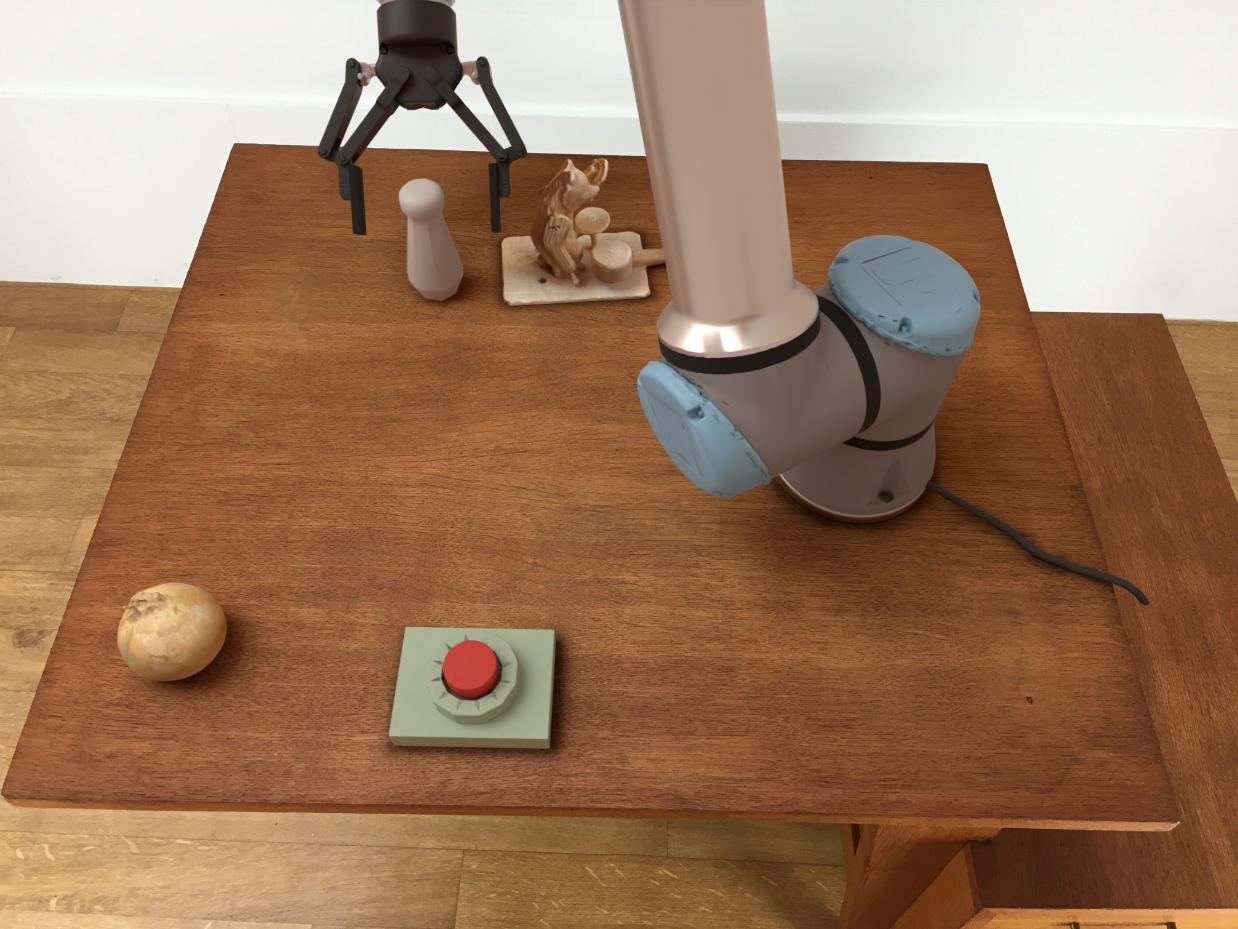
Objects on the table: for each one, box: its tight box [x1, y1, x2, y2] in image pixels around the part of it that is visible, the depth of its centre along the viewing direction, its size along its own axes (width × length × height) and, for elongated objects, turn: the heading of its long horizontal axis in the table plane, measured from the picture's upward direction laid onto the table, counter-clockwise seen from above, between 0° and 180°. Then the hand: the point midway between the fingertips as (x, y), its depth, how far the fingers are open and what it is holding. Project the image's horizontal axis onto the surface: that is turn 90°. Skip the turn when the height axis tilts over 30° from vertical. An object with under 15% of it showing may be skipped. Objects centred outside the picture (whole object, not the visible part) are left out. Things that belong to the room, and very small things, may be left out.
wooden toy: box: [500, 157, 666, 307], centre depth 99 cm, size 22×10×14 cm, turn 94°
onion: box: [116, 582, 228, 682], centre depth 76 cm, size 8×8×7 cm
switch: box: [443, 640, 498, 698], centre depth 73 cm, size 4×4×2 cm
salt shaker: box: [398, 178, 465, 302], centre depth 97 cm, size 6×6×13 cm
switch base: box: [388, 626, 557, 750], centre depth 75 cm, size 12×9×4 cm
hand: (428, 233), depth 97 cm, fingers open, 13 cm apart
